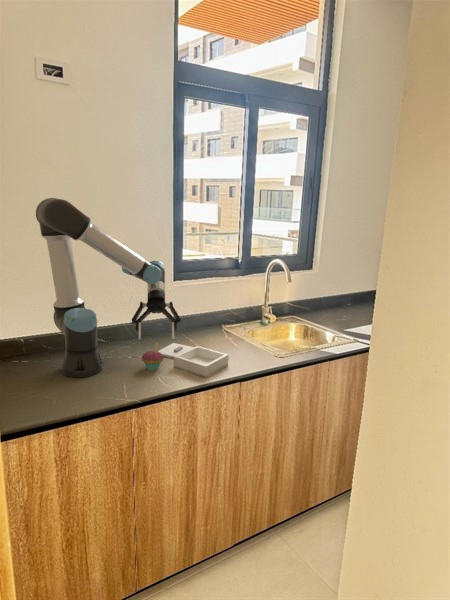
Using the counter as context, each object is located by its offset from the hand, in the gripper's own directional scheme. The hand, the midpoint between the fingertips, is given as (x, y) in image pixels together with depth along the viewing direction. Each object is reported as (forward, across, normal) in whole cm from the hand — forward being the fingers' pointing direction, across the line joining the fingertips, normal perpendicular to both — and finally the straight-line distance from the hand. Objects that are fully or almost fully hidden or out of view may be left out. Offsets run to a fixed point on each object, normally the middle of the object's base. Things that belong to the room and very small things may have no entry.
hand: (156, 338), depth 169 cm
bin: (+11, -18, -4) cm, 22 cm away
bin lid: (0, -10, -15) cm, 18 cm away
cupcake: (+12, +2, -3) cm, 13 cm away
